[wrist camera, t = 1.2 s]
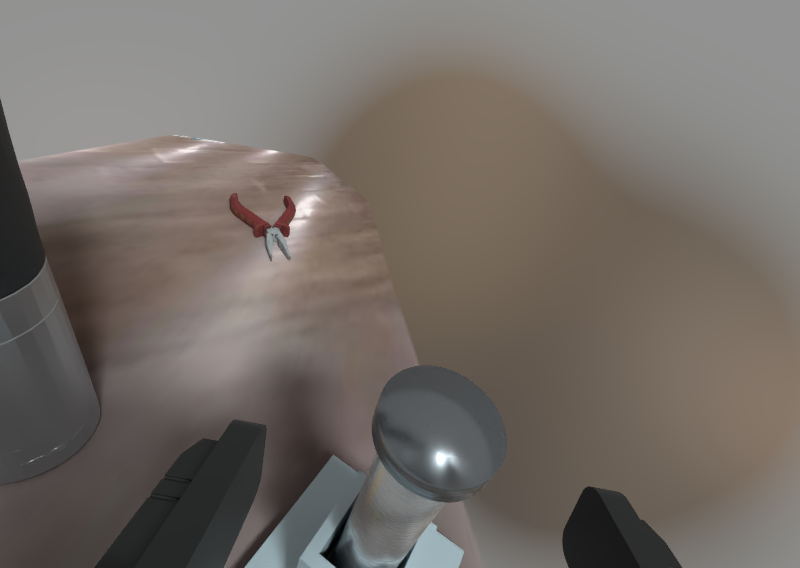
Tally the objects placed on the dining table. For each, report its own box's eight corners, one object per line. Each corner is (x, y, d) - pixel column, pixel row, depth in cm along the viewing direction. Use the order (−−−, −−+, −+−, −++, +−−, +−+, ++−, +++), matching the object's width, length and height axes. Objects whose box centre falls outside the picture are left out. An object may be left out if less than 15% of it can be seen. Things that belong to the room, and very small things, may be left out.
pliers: (241, 267, 56) (241, 252, 55) (228, 203, 70) (228, 190, 68) (316, 264, 62) (318, 251, 60) (290, 205, 75) (291, 193, 74)
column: (297, 593, 26) (350, 428, 14) (343, 521, 31) (415, 347, 18) (361, 650, 25) (483, 521, 13) (401, 566, 29) (520, 410, 17)
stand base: (204, 625, 25) (196, 581, 20) (331, 462, 36) (348, 405, 31) (374, 794, 22) (420, 798, 16) (458, 557, 33) (503, 511, 27)
